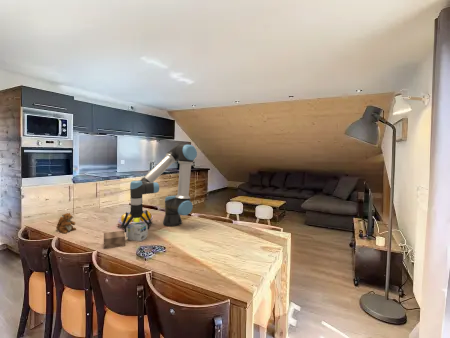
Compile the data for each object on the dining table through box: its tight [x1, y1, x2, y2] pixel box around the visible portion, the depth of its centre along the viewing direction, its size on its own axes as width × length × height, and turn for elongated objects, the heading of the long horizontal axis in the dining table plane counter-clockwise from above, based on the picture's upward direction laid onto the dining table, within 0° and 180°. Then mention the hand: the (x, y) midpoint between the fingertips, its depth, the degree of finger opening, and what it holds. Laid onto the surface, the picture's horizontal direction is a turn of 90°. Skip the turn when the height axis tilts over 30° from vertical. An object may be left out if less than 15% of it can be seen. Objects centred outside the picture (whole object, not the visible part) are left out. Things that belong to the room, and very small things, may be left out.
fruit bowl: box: [117, 210, 154, 226], centre depth 194 cm, size 28×27×11 cm
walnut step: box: [103, 230, 126, 250], centre depth 155 cm, size 12×12×6 cm
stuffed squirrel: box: [55, 212, 77, 234], centre depth 178 cm, size 10×14×13 cm
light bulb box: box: [127, 222, 147, 242], centre depth 164 cm, size 11×7×11 cm, turn 75°
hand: (137, 235), depth 164 cm, fingers closed on light bulb box, 12 cm apart
